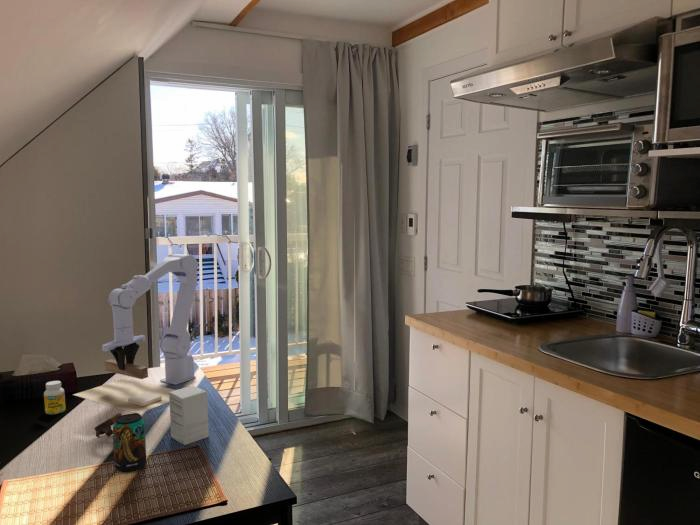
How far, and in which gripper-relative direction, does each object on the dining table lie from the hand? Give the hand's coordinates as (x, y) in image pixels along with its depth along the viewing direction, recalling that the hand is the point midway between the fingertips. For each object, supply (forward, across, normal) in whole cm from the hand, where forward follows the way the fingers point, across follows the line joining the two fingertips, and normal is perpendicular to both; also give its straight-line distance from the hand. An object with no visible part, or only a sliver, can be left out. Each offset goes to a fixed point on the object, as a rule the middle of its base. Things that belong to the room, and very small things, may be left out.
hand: (125, 368), depth 182 cm
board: (+9, 0, +2) cm, 9 cm away
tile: (+8, +2, +11) cm, 13 cm away
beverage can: (+9, +31, +42) cm, 53 cm away
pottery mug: (+10, +22, +27) cm, 36 cm away
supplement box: (+10, +12, +42) cm, 44 cm away
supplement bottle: (+9, +21, -6) cm, 23 cm away
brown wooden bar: (+2, 0, 0) cm, 2 cm away
